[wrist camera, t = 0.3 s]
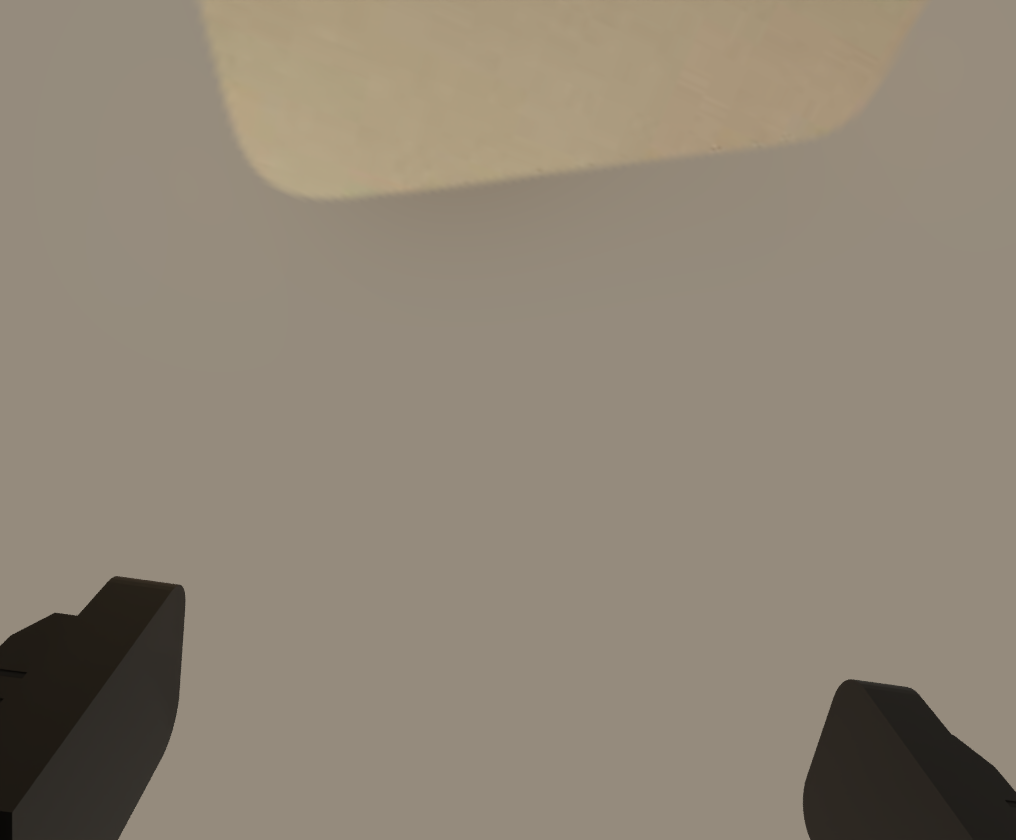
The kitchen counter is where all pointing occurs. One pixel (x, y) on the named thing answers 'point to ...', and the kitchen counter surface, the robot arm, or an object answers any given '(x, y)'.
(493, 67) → the kitchen counter surface
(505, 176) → the kitchen counter surface
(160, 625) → the robot arm
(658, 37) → the kitchen counter surface
